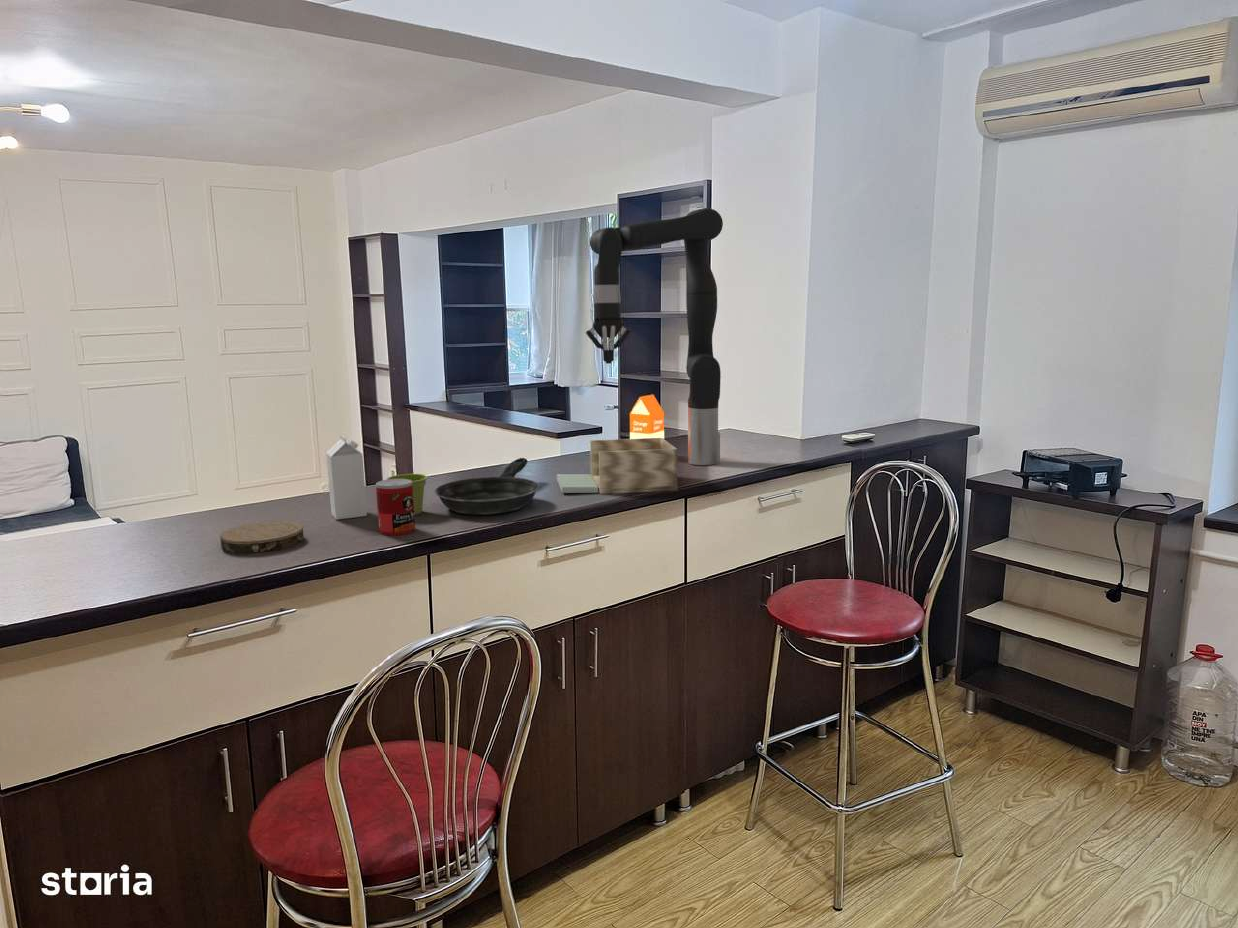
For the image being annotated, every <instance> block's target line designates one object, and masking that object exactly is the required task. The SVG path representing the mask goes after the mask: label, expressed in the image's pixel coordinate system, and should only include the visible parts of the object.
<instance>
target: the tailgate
mask: <svg viewBox="0 0 1238 928" xmlns="http://www.w3.org/2000/svg"><path fill="white" fill-rule="evenodd" d="M556 481H557V484H558V487H559V489H560V492H561V493H562V494H573V493H574V494H576V493H577V494H579V493H580V494H586V493H587V494H599V491H598V486H597V484H596V483H595V481H594V479H593V478H592V476H591V473H589V474H587V473H585V474H583V473H582V474H581V473H580V474H579V473H577V474H576V473H575V474H574V473H568V474H567V473H566V474H562V473H557V474H556Z"/></svg>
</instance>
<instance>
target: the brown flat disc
mask: <svg viewBox="0 0 1238 928" xmlns="http://www.w3.org/2000/svg"><path fill="white" fill-rule="evenodd" d="M219 538H220V545H221V546H220V547H221V550H222V552H224V553H227V554H230V555H231V554H232V555H259V554H267V553H275V552H279V551H283V550H287V549H290V548H294V547H295V546H298V545H299V544H301V543H303V541H304V538H305V537H304V527H303V525H302V524H301V523H299V522H294V521H283V520H281V521H280V520H278V521H275V520H274V521H260V522H255V523H248V524H243V525H239V526H234V527H232V528H229V529H226V530H225V531H223V532H222V533H220V535H219Z"/></svg>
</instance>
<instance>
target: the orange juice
mask: <svg viewBox="0 0 1238 928" xmlns="http://www.w3.org/2000/svg"><path fill="white" fill-rule="evenodd" d="M631 409H632V410H631V411H630V412H629V439H641V438H663V439H664V440H665V412H664V410H663V409H662V407H661V406H660V403H659V401H658V400H657V398H656V397H655V395H654V394H650V395H643V396H639V398H638V400H637V401H636V403H635V404H634V406H633V407H632V408H631Z"/></svg>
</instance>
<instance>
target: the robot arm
mask: <svg viewBox="0 0 1238 928" xmlns="http://www.w3.org/2000/svg"><path fill="white" fill-rule="evenodd" d="M723 224H724V222H723V217H722V215H721V214H720V212H718V211H717V210H716V209H713V208H709V207H703V208H698V209H695V210H692V211H689V212H688V213H687V214H686V215H685V216H680V217H676V218H669V219H661V220H652V221H651V220H648V221H644V222H643V221H642V222H637V223H631V224H627V225H624V226H620V227H619V226H618V227H611V226H610V227H605V228H601V229H598V230H595V231H594V232H593V233H592V234H591V236H590V238H589V247H590V249H591V250H592V251H593V252H594V253H595V254H596V255H598V260H597V261H598V262H597V264H596V265H595V266H594V271H593V280H594V281H593V283H594V284H593V286H594V287H593V288H594V289H593V319H594V320H593V323H592V327H590V329H587V330H586V331H585V335H586V336H587V338H589V339H590V340H591V341H592V343H593V344H594V346H596V348H597V349H601V350H602V356H603V357H602V359H603V362H605V364H606V365H607V364H613V363H612V362H614V360H615V358H614V357H615V356H614V352H615V349H619V348H620V347H621V345H622V344H623V343H624V341H625V340H626V339H627V338H628V336H629V335H630V333H631V331H630V330H629V329H627V328H626V327H624V326H623V322H622V318H621V317H622V316H621V314H622V313H621V301H622V298H621V290H620V289H621V288H620V272H619V271H620V270H619V269H620V264H621V258H622V253H623V252H624V251H632V250H640V249H646V248H651V247H655V246H660V245H663V244H667V243H668V244H669V243H672V242H678V241H683V245H684V253H685V275H686V276H685V278H686V279H685V282H686V284H685V285H686V289H685V291H686V292H685V298H686V300H685V305H686V306H685V307H686V323H687V333H688V334H687V335H688V342H687V343H688V345H687V357H686V366H685V367H686V368H685V369H686V370H685V371H686V374H687V377H688V379H689V395H688V399H687V463H688V464H690V465H695V466H709V465H711V466H712V465H716V464H717V465H718V464H721V433H720V432H719V400H720V396H721V378H722V377H721V366H720V362H719V361H718V360H717V358H715V357H714V351H713V349H714V348H713V335H714V333H713V332H714V328H715V324H716V318H717V311H718V286H717V283H716V279H715V276H714V273H713V271H712V268H711V264H710V261H709V253H708V252H709V246H708V245H709V241H712V240H715V238H717V237H718V236H719V235H720V233H721V232H722V230H723ZM596 333H597V335H598V336H599V338H601V342H600V340H598V339H597V338H596V337H595V335H596ZM619 333H620V336H619V338H618V339H617V340H616V342H615V339H616V337H617V335H618V334H619Z"/></svg>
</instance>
